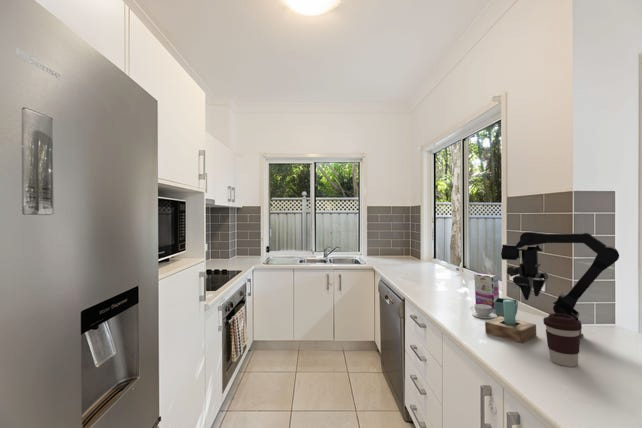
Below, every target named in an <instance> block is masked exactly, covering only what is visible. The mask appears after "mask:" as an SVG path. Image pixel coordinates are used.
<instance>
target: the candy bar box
mask: <svg viewBox="0 0 642 428" xmlns="http://www.w3.org/2000/svg"><path fill="white" fill-rule="evenodd" d="M473 276H474V292H475V293H474V294H475V296H474V297H475V298H474V299H475V305H476V304H485V305H489V306H491V307H492V308H491V309H495V306H494V301H495V300H496V298H500V289H499V287H500V286H499V276H498V275H493V274H487V273H486V274H485V273H479V272H478V273H474V275H473Z"/></svg>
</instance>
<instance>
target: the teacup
mask: <svg viewBox="0 0 642 428" xmlns="http://www.w3.org/2000/svg"><path fill="white" fill-rule="evenodd" d="M473 306H474V310H475V311H474V312H472V313H471V315H472V316H473V317H477V318H481V319H494V318H496V315H495V314H493V313H492V309H493V308H492V307H491V306H489V305H485V304H476V303H475V304H474V305H473Z"/></svg>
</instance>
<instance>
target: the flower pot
mask: <svg viewBox="0 0 642 428" xmlns="http://www.w3.org/2000/svg"><path fill="white" fill-rule="evenodd" d="M503 300H513V301H515V317H516V316H517V313H518V307H519V306H518V305H519V300H518V299H511V298H503V297H499V298H496V300H495V301H494V306H495V308H494V311H495V314H496V315H495V316H496V317H499V316H502V317H504V306H503Z"/></svg>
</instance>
